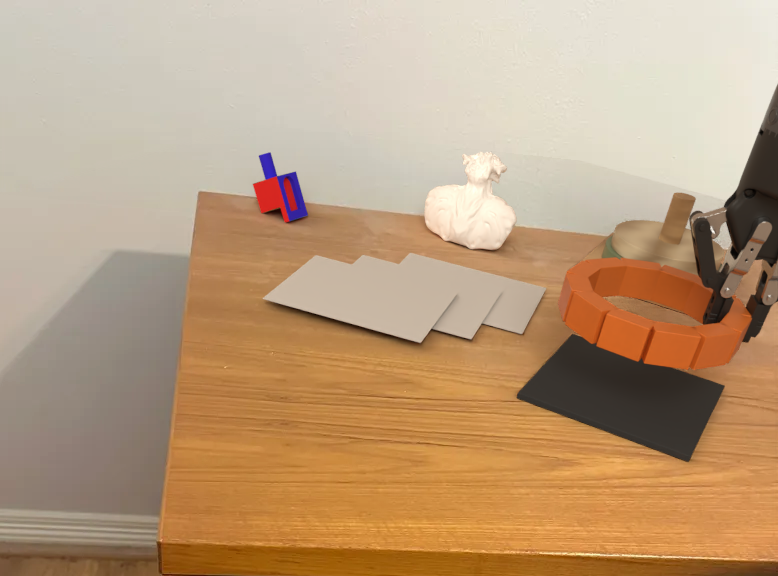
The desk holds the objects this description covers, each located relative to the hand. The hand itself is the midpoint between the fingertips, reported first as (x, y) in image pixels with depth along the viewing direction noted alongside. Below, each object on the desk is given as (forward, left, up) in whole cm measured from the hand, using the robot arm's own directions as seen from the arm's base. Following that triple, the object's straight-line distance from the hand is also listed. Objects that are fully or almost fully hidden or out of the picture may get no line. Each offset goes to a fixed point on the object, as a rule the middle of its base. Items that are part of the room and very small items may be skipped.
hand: (726, 335), depth 77 cm
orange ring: (+7, +2, 0) cm, 7 cm away
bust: (+34, -23, -8) cm, 42 cm away
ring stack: (+11, -30, -7) cm, 33 cm away
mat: (+6, +3, -7) cm, 10 cm away
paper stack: (+31, -2, -7) cm, 32 cm away
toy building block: (+55, -12, -8) cm, 57 cm away
